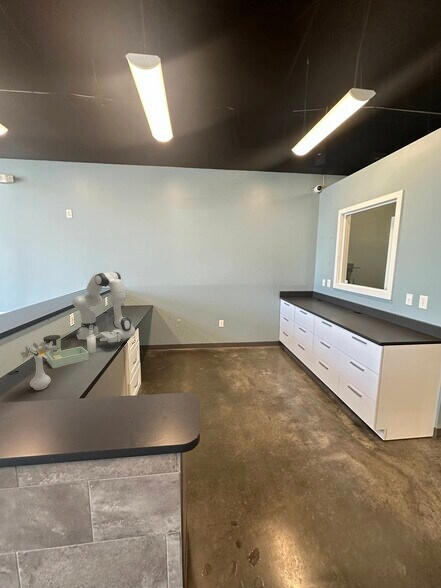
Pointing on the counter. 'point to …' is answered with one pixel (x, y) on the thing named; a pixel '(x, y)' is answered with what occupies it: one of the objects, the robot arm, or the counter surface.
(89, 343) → the milk bottle
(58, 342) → the coffee can
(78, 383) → the counter surface
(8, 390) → the counter surface
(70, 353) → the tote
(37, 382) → the flower vase
